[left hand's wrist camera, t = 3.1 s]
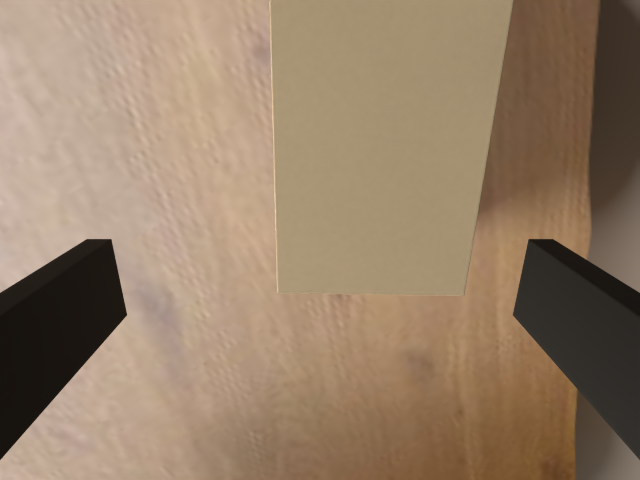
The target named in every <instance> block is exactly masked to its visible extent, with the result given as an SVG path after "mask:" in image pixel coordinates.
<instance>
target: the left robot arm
mask: <svg viewBox="0 0 640 480" xmlns="http://www.w3.org/2000/svg"><path fill="white" fill-rule="evenodd" d="M126 316H127V312H126V308H125V303H124V298H123V293H122V288H121V284H120V279H119V274H118V269H117V264H116V260H115V255H114V250H113V245H112V240H111V239H87V240H85V241H83V242H82V243H80V244H78V245H77V246H75V247H74V248H72V249H70V250H69V251H67V252H66V253H64V254H62V255H61V256H59V257H58V258H56V259H54V260H53V261H51V262H49V263H48V264H46V265H45V266H43V267H41V268H40V269H38V270H37V271H35V272H33V273H32V274H30V275H28V276H27V277H25V278H24V279H22V280H20V281H19V282H17V283H16V284H14V285H12V286H11V287H9V288H8V289H6V290H4V291H3V292H1V293H0V460H1V458H2V457H3V456H4V455H5V454H6V453H7V452H8V450H9V449H10V448H11V447H12V446H13V445H14V444H15V442H16V441H17V440H18V439H19V438H20V437H21V436H22V434H23V433H24V432H25V431H26V430H27V429H28V428H29V426H30V425H31V424H32V423H33V422H34V421H35V420H36V418H37V417H38V416H39V415H40V414H41V413H42V412H43V410H44V409H45V408H46V407H47V406H48V405H49V404H50V402H51V401H52V400H53V399H54V398H55V397H56V396H57V395H58V393H59V392H60V391H61V390H62V389H63V388H64V387H65V385H66V384H67V383H68V382H69V381H70V380H71V379H72V377H73V376H74V375H75V374H76V373H77V372H78V371H79V369H80V368H81V367H82V366H83V365H84V364H85V363H86V361H87V360H88V359H89V358H90V357H91V356H92V355H93V353H94V352H95V351H96V350H97V349H98V348H99V347H100V345H101V344H102V343H103V342H104V341H105V340H106V339H107V337H108V336H109V335H110V334H111V333H112V332H113V331H114V329H115V328H116V327H117V326H118V325H119V324H120V323H121V321H122V320H123V319H124V318H125V317H126ZM513 316H514V317H515V318H516V319H517V320H518V321H519V323H520V324H521V325H522V326H523V327H524V328H525V329H526V331H527V332H528V333H529V334H530V335H531V336H532V337H533V339H534V340H535V341H536V342H537V343H538V344H539V345H540V347H541V348H542V349H543V350H544V351H545V352H546V353H547V355H548V356H549V357H550V358H551V359H552V360H553V361H554V363H555V364H556V365H557V366H558V367H559V368H560V369H561V371H562V372H563V373H564V374H565V375H566V376H567V377H568V379H569V380H570V381H571V382H572V383H573V384H574V385H575V387H576V388H577V389H578V390H579V391H580V392H581V393H582V395H583V396H584V397H585V398H586V399H587V400H588V401H589V402H590V404H591V405H592V406H593V407H594V408H595V409H596V410H597V412H598V413H599V414H600V415H601V416H602V417H603V418H604V420H605V421H606V422H607V423H608V424H609V425H610V426H611V428H612V429H613V430H614V431H615V432H616V433H617V434H618V436H619V437H620V438H621V439H622V440H623V441H624V442H625V444H626V445H627V446H628V447H629V448H630V449H631V450H632V452H633V453H634V454H635V455H636V456H637V457H638V458H639V460H640V293H639V292H637V291H636V290H634V289H632V288H631V287H629V286H628V285H626V284H624V283H623V282H621V281H620V280H618V279H616V278H615V277H613V276H612V275H610V274H608V273H607V272H605V271H603V270H602V269H600V268H599V267H597V266H595V265H594V264H592V263H590V262H589V261H587V260H586V259H584V258H582V257H581V256H579V255H578V254H576V253H574V252H573V251H571V250H570V249H568V248H566V247H565V246H563V245H562V244H560V243H558V242H557V241H555V240H553V239H529V240H528V245H527V250H526V255H525V260H524V264H523V269H522V274H521V279H520V284H519V288H518V293H517V298H516V303H515V308H514V312H513Z"/></svg>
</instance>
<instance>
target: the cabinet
mask: <svg viewBox="0 0 640 480" xmlns="http://www.w3.org/2000/svg"><path fill="white" fill-rule="evenodd" d="M513 2H514V0H270V37H271V75H272V113H273V150H274V188H275V226H276V263H277V293H293V294H369V295H444V296H464V294H465V288H466V282H467V276H468V270H469V264H470V258H471V252H472V246H473V240H474V234H475V228H476V222H477V216H478V210H479V204H480V198H481V193H482V187H483V181H484V175H485V169H486V163H487V157H488V151H489V145H490V139H491V133H492V127H493V121H494V115H495V109H496V103H497V97H498V91H499V86H500V80H501V74H502V68H503V62H504V56H505V50H506V44H507V38H508V32H509V26H510V20H511V14H512V8H513Z"/></svg>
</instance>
